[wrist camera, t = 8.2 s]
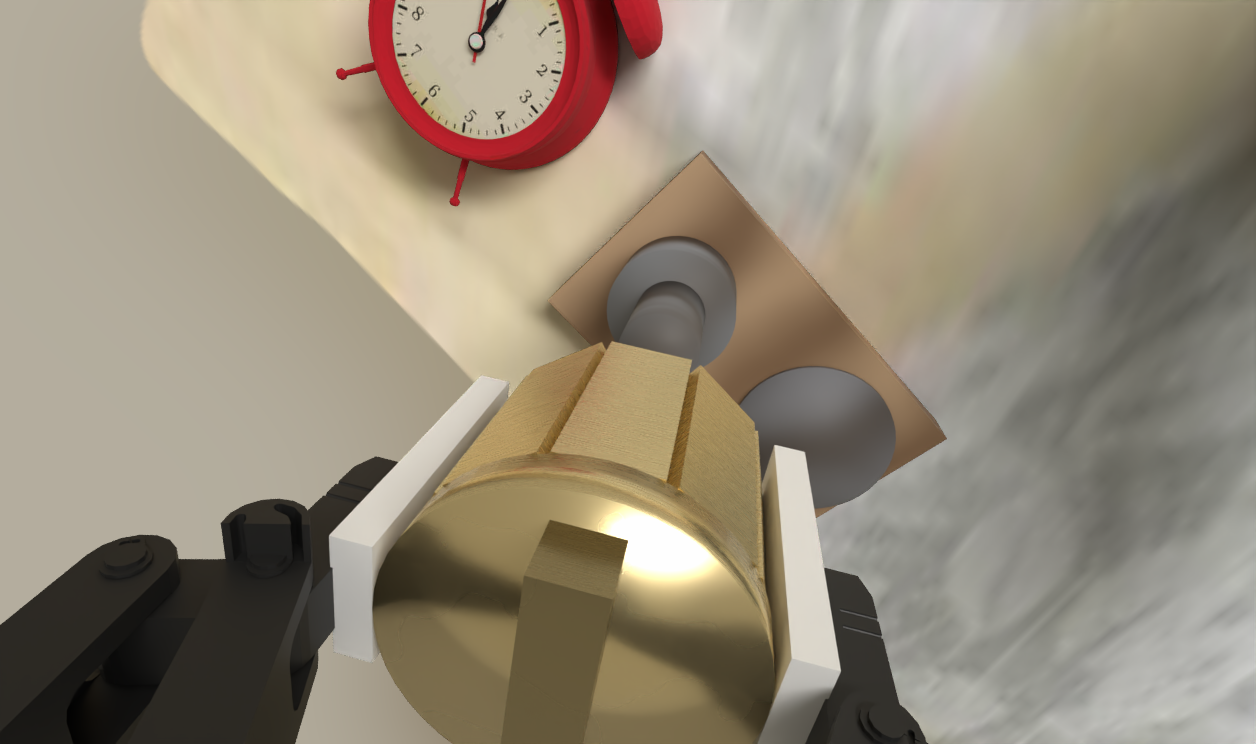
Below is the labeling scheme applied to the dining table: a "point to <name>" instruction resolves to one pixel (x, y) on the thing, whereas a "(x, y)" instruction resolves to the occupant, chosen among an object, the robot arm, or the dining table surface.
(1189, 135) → the dining table surface
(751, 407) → the post plinth
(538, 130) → the alarm clock
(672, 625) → the cap
